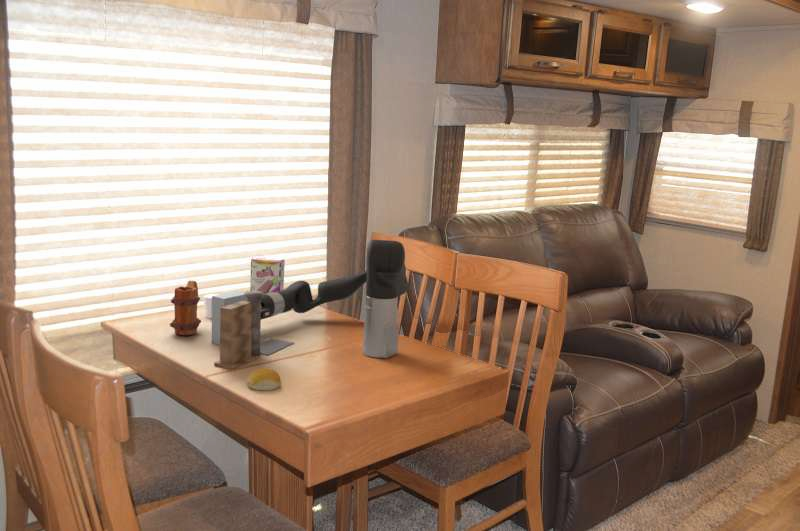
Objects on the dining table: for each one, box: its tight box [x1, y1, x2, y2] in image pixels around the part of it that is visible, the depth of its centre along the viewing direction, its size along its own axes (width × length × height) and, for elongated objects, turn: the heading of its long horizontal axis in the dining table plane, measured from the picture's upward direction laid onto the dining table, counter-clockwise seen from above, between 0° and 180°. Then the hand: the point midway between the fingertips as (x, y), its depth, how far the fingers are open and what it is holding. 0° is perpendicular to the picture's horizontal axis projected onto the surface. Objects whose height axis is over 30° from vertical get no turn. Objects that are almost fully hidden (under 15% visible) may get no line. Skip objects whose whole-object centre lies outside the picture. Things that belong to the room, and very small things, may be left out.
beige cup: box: [203, 293, 220, 319], centre depth 249 cm, size 7×7×7 cm
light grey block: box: [211, 290, 246, 345], centre depth 222 cm, size 5×10×14 cm, turn 146°
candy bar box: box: [249, 256, 286, 294], centre depth 268 cm, size 11×5×16 cm, turn 82°
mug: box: [169, 280, 202, 336], centre depth 229 cm, size 15×8×15 cm, turn 179°
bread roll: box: [246, 368, 282, 391], centre depth 188 cm, size 8×9×4 cm
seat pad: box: [260, 338, 295, 356], centre depth 219 cm, size 14×8×1 cm, turn 157°
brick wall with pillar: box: [213, 290, 263, 370], centre depth 205 cm, size 16×6×18 cm, turn 156°
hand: (228, 315), depth 221 cm, fingers open, 8 cm apart
